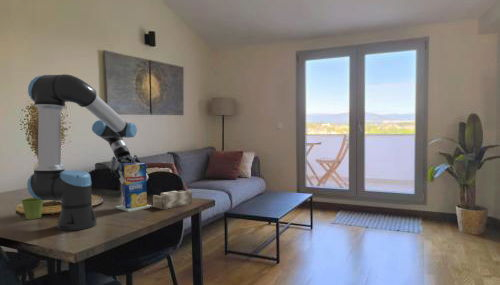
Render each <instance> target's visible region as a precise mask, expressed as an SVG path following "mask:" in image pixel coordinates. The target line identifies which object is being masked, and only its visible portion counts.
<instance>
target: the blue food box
mask: <svg viewBox="0 0 500 285" xmlns="http://www.w3.org/2000/svg"><path fill="white" fill-rule="evenodd" d="M146 165H147V163H145V162H144V163H132V162H131V163H127V164H121V167H120V168H121V170H120V172H121V174H122V176H123V178H124V180H125V182H124V183H123V184H121V201H122V203H121V205H122V206H123V207H124V208H134V207H141V206H147V205H148V200H147V199H148V197H147V196H148V195H147V189H148V188H147V181H146V171H147V169H146Z"/></svg>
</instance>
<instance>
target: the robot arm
mask: <svg viewBox="0 0 500 285" xmlns="http://www.w3.org/2000/svg"><path fill="white" fill-rule="evenodd" d="M27 88H28V89H27V94H28V96H29V97H30V99H31V100H32V101H33V102H34V107H35V108H37V110H38V127H37V128H38V134H37V135H38V136H37V137H38V138H37V139H38V140H37V141H38V142H37V144H38V145H37V146H38V148H37V149H38V150H37V151H38V152H37V153H38V154H37V156H38V157H37V158H38V159H37V163H38V164H37V166H36V167H35V168H34V169H33V173H32V174H31V175H30V176H29V178H28V180H27V183H26V186H27V190H28V194H29V195H30V196H31V197H32V198H36V199H41V200H44V201H55V202H56V201H61V203H60V204H61V210H60V213H59V216H58V220H57V222H56V224H57V225H56V226H57V229H58V230H59V231H79V230H80V231H81V230H85V229H90V228H92V227H95V226H97V216H96V214H95V212H94V208H93V204H92V177H91V174H90V173H89V172H88V171H85V170H77V169H76V170H74V169H69V170H65V168H64V167H63V166H62V164H61V162H62V159H61V158H62V151H61V150H62V110H64V109H65V108H66V103H68V102H69V103H74V104H77V105H78V106H79V107H81V108H85V109H87V111H89V112H90V113H91V114H93V115H94V116H95V117H96V118H97V120H96V121H94V123H93V124H92V125H91V126H92V127H91V131H92V132H93V133H94V134H95V135H96V136H97V137H99V138H101V139H103V140H105V141H106V142H107V143H108V145H109V147H110V148H111V150H112V153H113V154H114V156H112V158H111V168H110V174H112V175H114V176H116V179H119V182H120V183H121V185H122V184H123V183H124V182H125V180H124V178H123V176H122V172H121V170H120V168H121V164H127V163H145V162H144V161H142V160H141V159H140V158H139V157H138V155H137V154H134V156H133V155H131V153H130V150H129V148H128V146H127V144H126V143H125V141H124V139H125V138H127V139H129V138H134V137H135V136H136V135H137V132H138V130H137V129H138V128H137V125H136V124H135V123H133V122H127V121H126V120H125V119H124V118H123V117H122V116H120V115H119V114H118V113H117V112H116V111H115V110H114V109H113V108H112V107H111V106H110V105H109V104H108V103H107V102H105V101H104V100H103V99H102V98H101V97H100V96H99V95H98V93H97V91H96V89H95V88H94V87H92V86H91V85H90V84H88V83H87V82H86V81H84V80H83V79H81V78H79V77H77V76H74V75H71V74H65V73H64V74H45V75H44V74H43V75H38V76H35V77H34V78H32V79H31V80H30V82H29V84H28V87H27ZM116 162H118V166H117V167H116ZM148 167H149V165H147V164H146V182H148V180H149V175H148V172H147V169H148Z"/></svg>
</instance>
